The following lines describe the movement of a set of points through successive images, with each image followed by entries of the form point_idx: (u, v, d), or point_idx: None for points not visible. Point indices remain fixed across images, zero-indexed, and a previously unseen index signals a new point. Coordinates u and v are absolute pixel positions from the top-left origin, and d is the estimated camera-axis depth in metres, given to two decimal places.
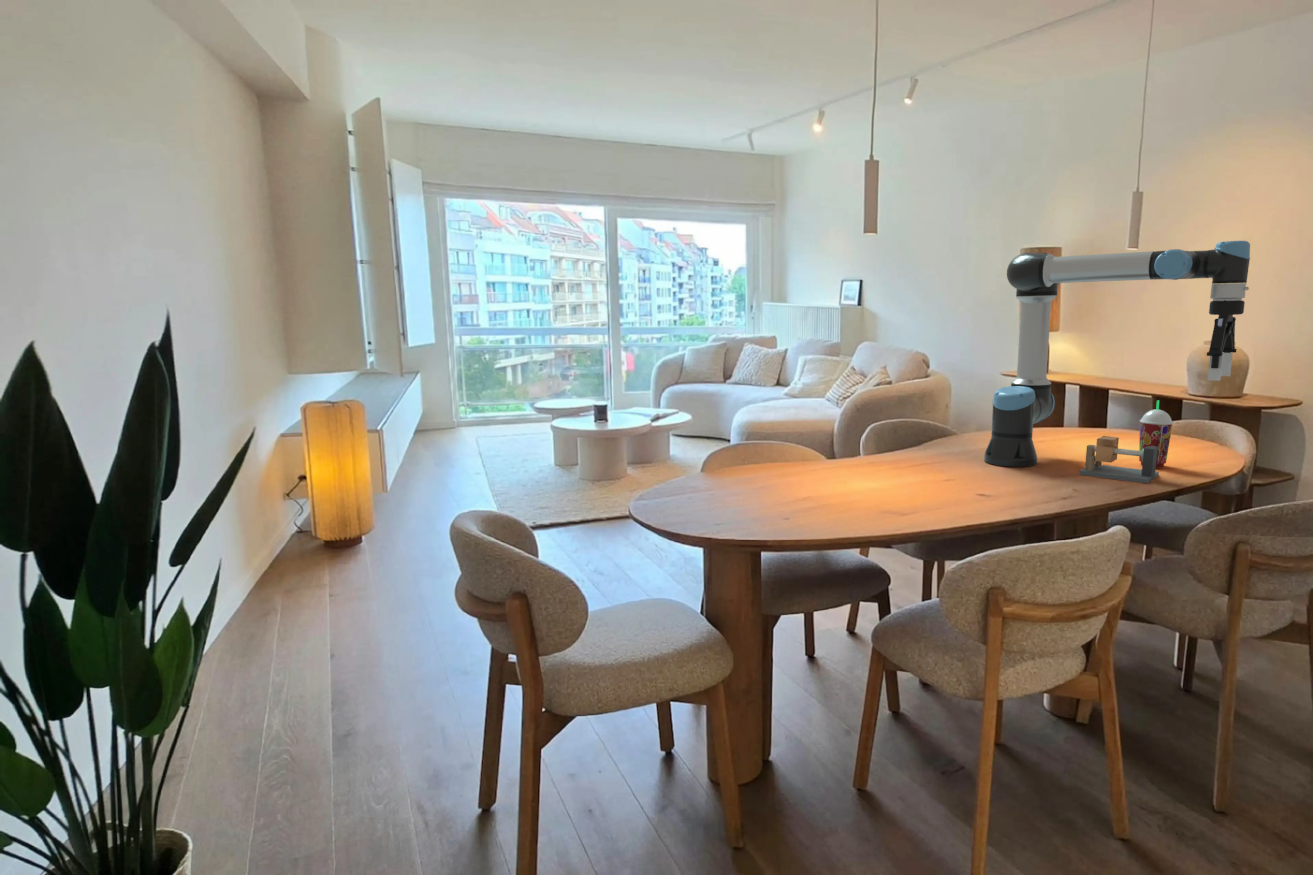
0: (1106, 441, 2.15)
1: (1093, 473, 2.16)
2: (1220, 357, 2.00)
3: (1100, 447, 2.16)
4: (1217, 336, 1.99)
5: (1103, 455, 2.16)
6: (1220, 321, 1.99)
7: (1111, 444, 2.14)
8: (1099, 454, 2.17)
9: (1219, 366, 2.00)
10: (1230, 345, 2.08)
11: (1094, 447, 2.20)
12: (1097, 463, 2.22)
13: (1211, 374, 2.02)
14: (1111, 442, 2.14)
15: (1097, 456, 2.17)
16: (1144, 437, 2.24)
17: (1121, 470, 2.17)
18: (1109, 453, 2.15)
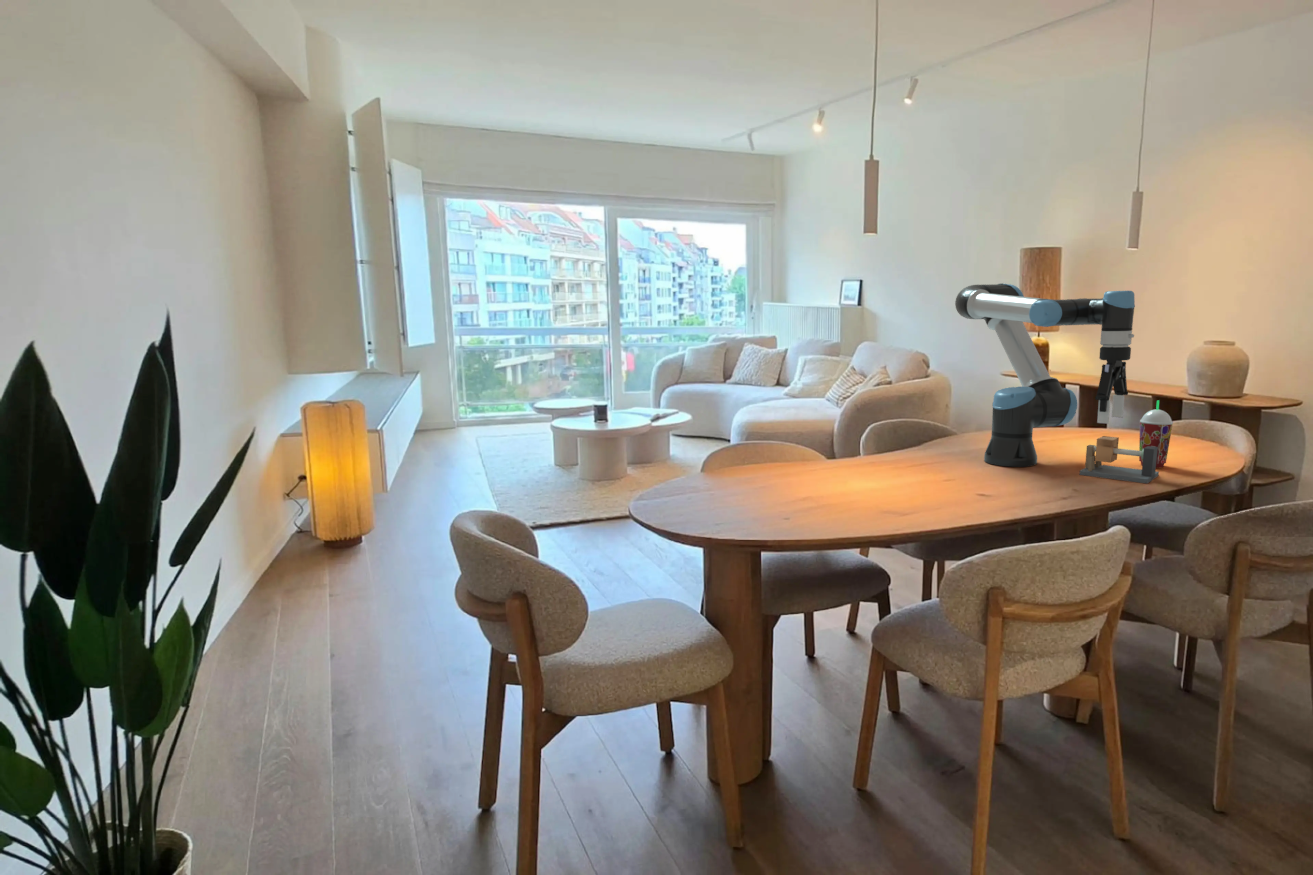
0: (1106, 441, 2.15)
1: (1093, 473, 2.16)
2: (1107, 401, 2.09)
3: (1100, 447, 2.16)
4: (1104, 381, 2.08)
5: (1103, 455, 2.16)
6: (1106, 367, 2.09)
7: (1111, 444, 2.14)
8: (1099, 454, 2.17)
9: (1107, 410, 2.10)
10: (1121, 388, 2.18)
11: (1094, 447, 2.20)
12: (1097, 463, 2.22)
13: (1100, 417, 2.11)
14: (1111, 442, 2.14)
15: (1097, 456, 2.17)
16: (1144, 437, 2.24)
17: (1121, 470, 2.17)
18: (1109, 453, 2.15)
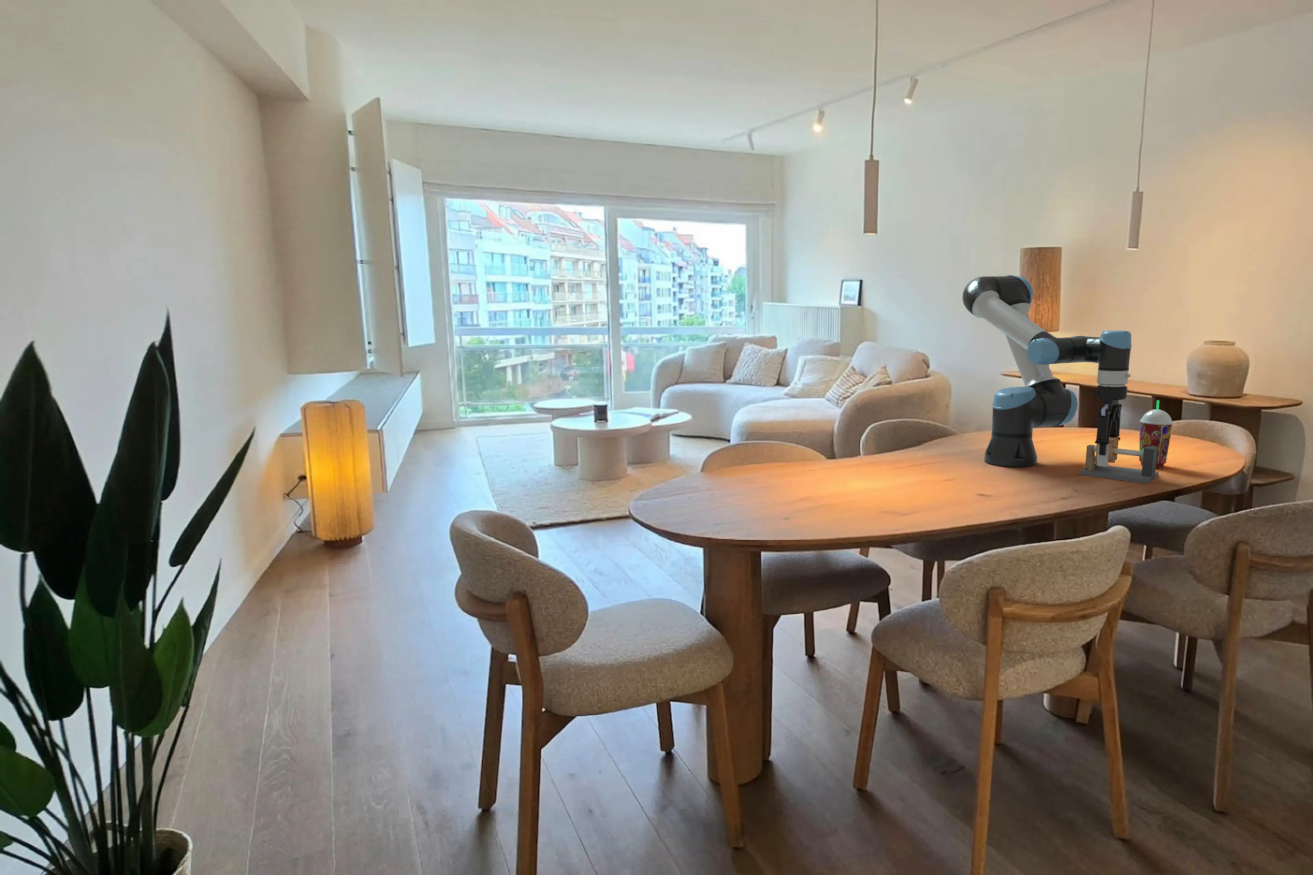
0: None
1: (1093, 473, 2.16)
2: (1107, 445, 2.14)
3: None
4: (1102, 426, 2.12)
5: None
6: (1103, 412, 2.11)
7: (1111, 444, 2.14)
8: None
9: (1106, 453, 2.15)
10: (1114, 431, 2.18)
11: (1094, 447, 2.20)
12: None
13: (1099, 460, 2.16)
14: (1111, 442, 2.14)
15: None
16: (1144, 437, 2.24)
17: (1121, 470, 2.17)
18: (1109, 453, 2.15)
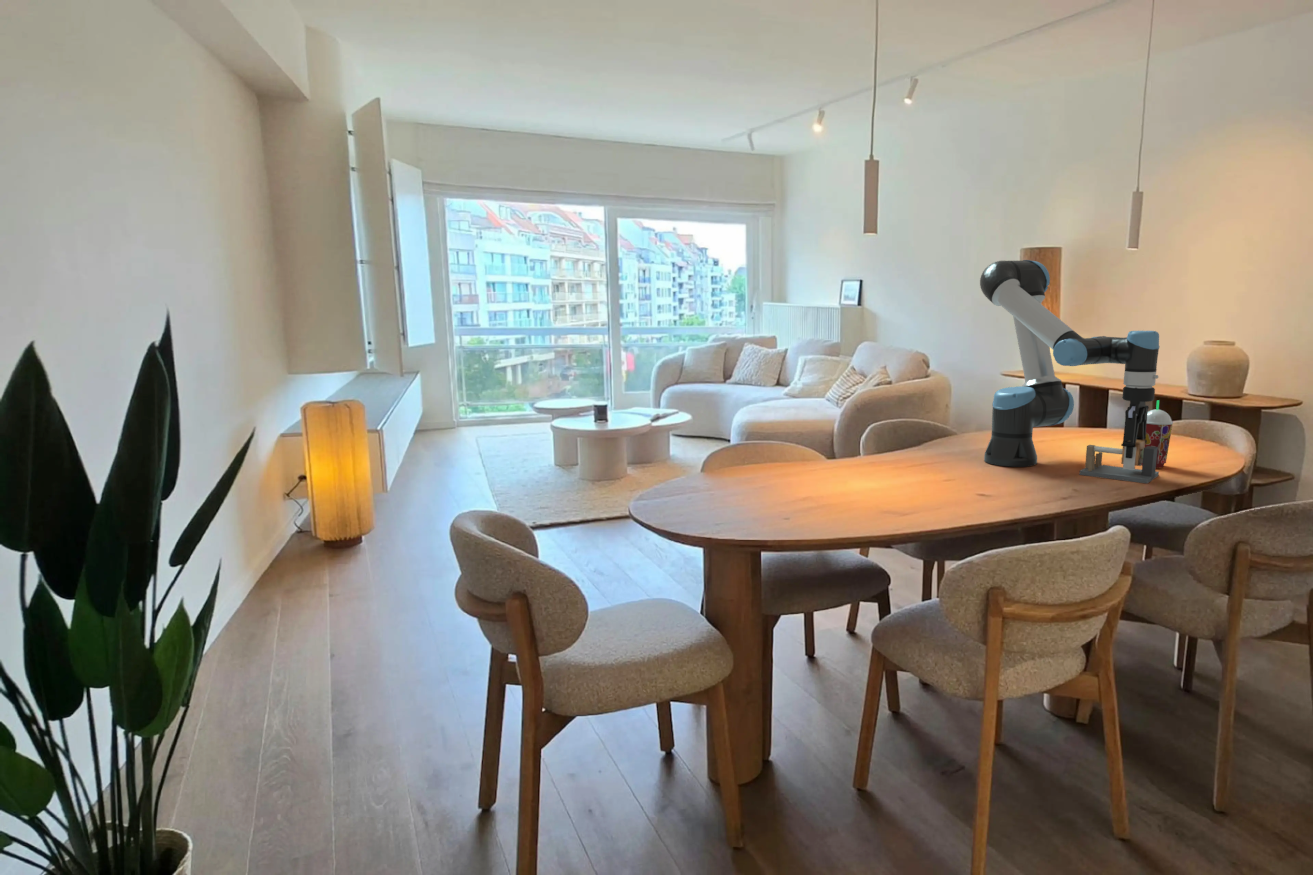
0: None
1: (1093, 473, 2.16)
2: (1134, 448, 2.09)
3: None
4: (1129, 428, 2.07)
5: None
6: (1130, 414, 2.06)
7: (1138, 447, 2.09)
8: None
9: (1133, 456, 2.10)
10: (1141, 433, 2.14)
11: (1094, 447, 2.20)
12: (1097, 463, 2.22)
13: (1126, 463, 2.11)
14: (1138, 445, 2.09)
15: (1123, 459, 2.12)
16: None
17: (1121, 470, 2.17)
18: (1136, 456, 2.10)
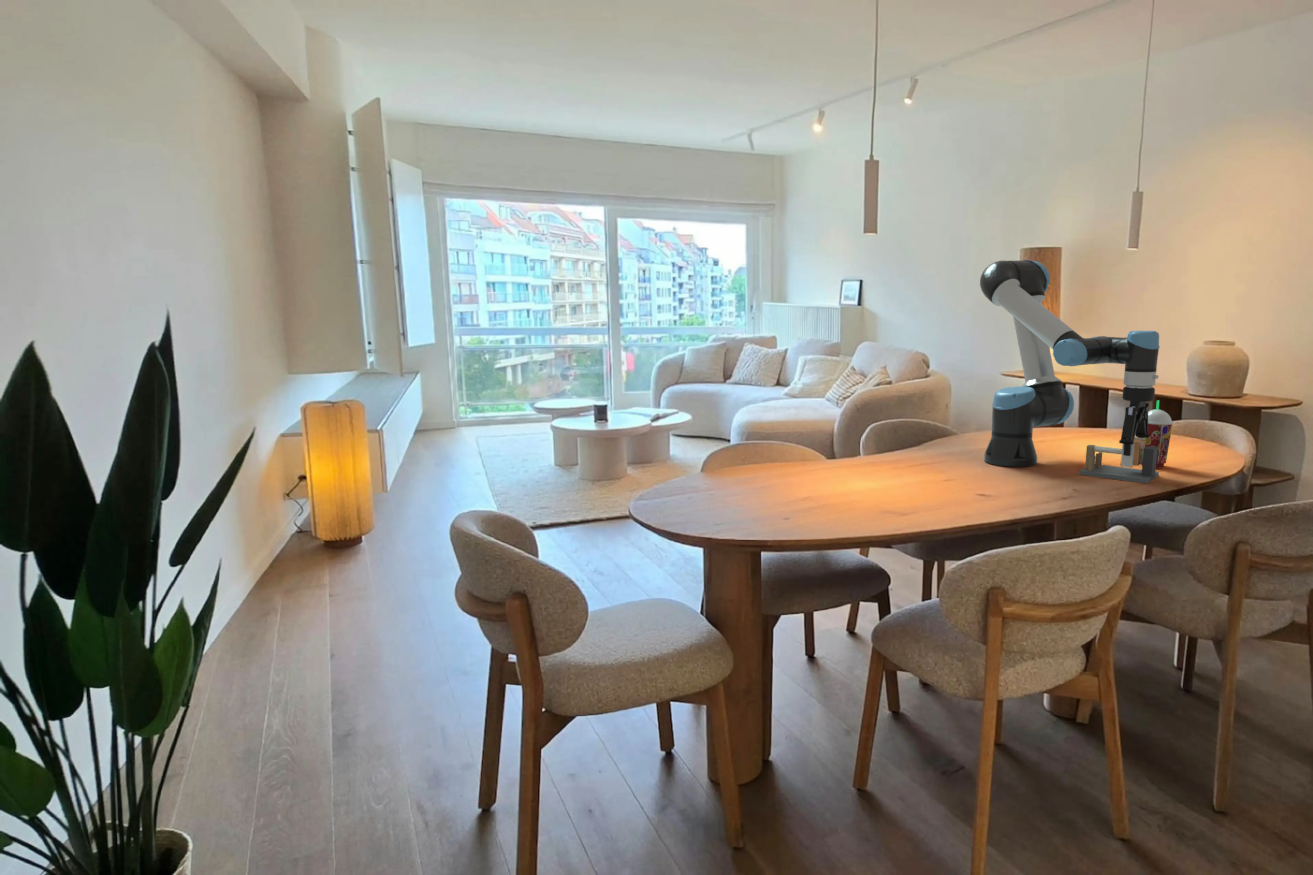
0: None
1: (1093, 473, 2.16)
2: (1132, 445, 2.08)
3: None
4: (1128, 425, 2.06)
5: None
6: (1130, 410, 2.06)
7: (1138, 447, 2.09)
8: None
9: (1131, 453, 2.08)
10: (1143, 430, 2.15)
11: (1094, 447, 2.20)
12: (1097, 463, 2.22)
13: (1124, 460, 2.10)
14: (1138, 445, 2.09)
15: None
16: None
17: (1121, 470, 2.17)
18: (1136, 456, 2.10)
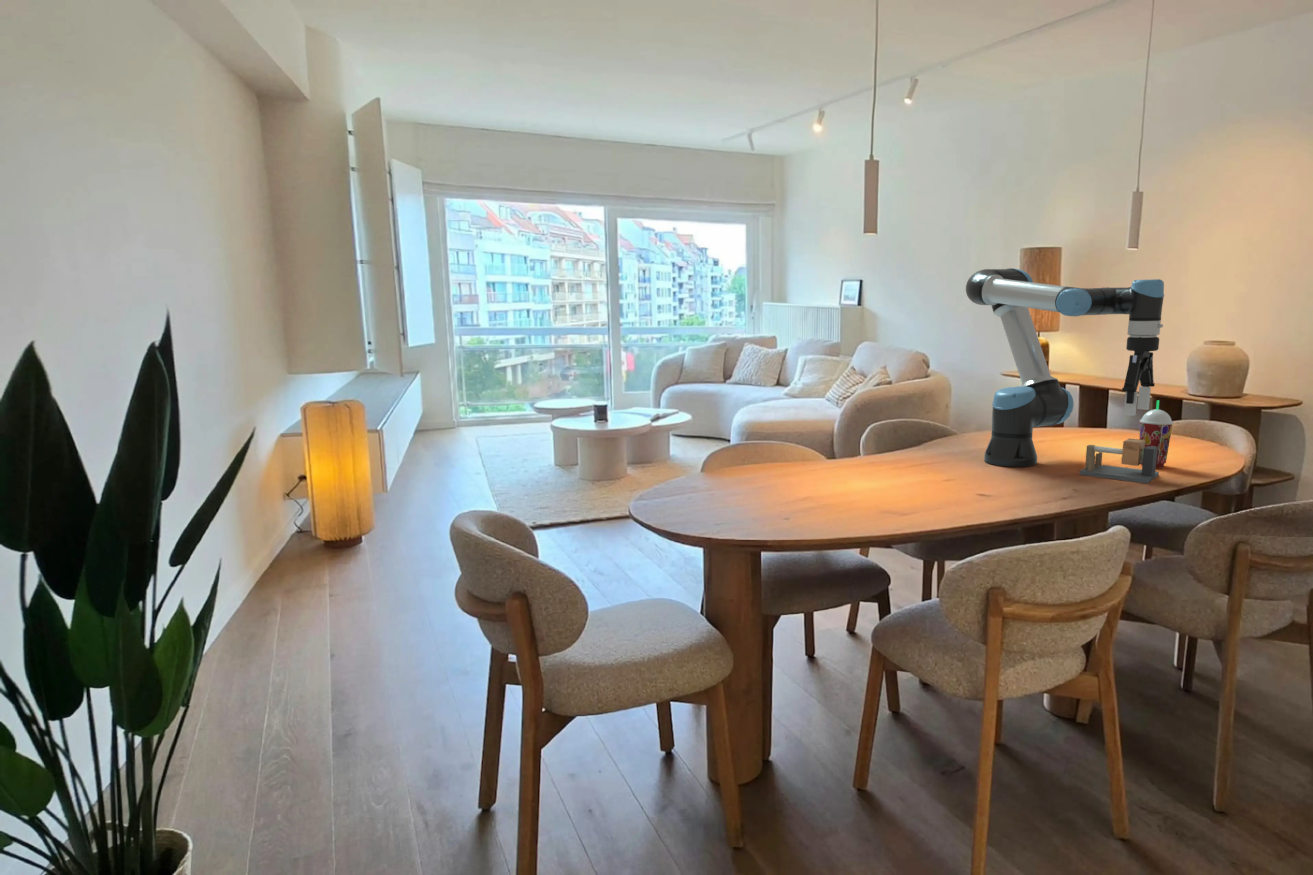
0: (1133, 444, 2.10)
1: (1093, 473, 2.16)
2: (1135, 393, 2.04)
3: (1126, 450, 2.12)
4: (1131, 372, 2.03)
5: (1130, 458, 2.11)
6: (1134, 358, 2.04)
7: (1138, 447, 2.09)
8: (1125, 457, 2.12)
9: (1134, 401, 2.05)
10: (1148, 379, 2.13)
11: (1094, 447, 2.20)
12: (1097, 463, 2.22)
13: (1127, 409, 2.06)
14: (1138, 445, 2.09)
15: (1123, 459, 2.12)
16: (1144, 437, 2.24)
17: (1121, 470, 2.17)
18: (1136, 456, 2.10)
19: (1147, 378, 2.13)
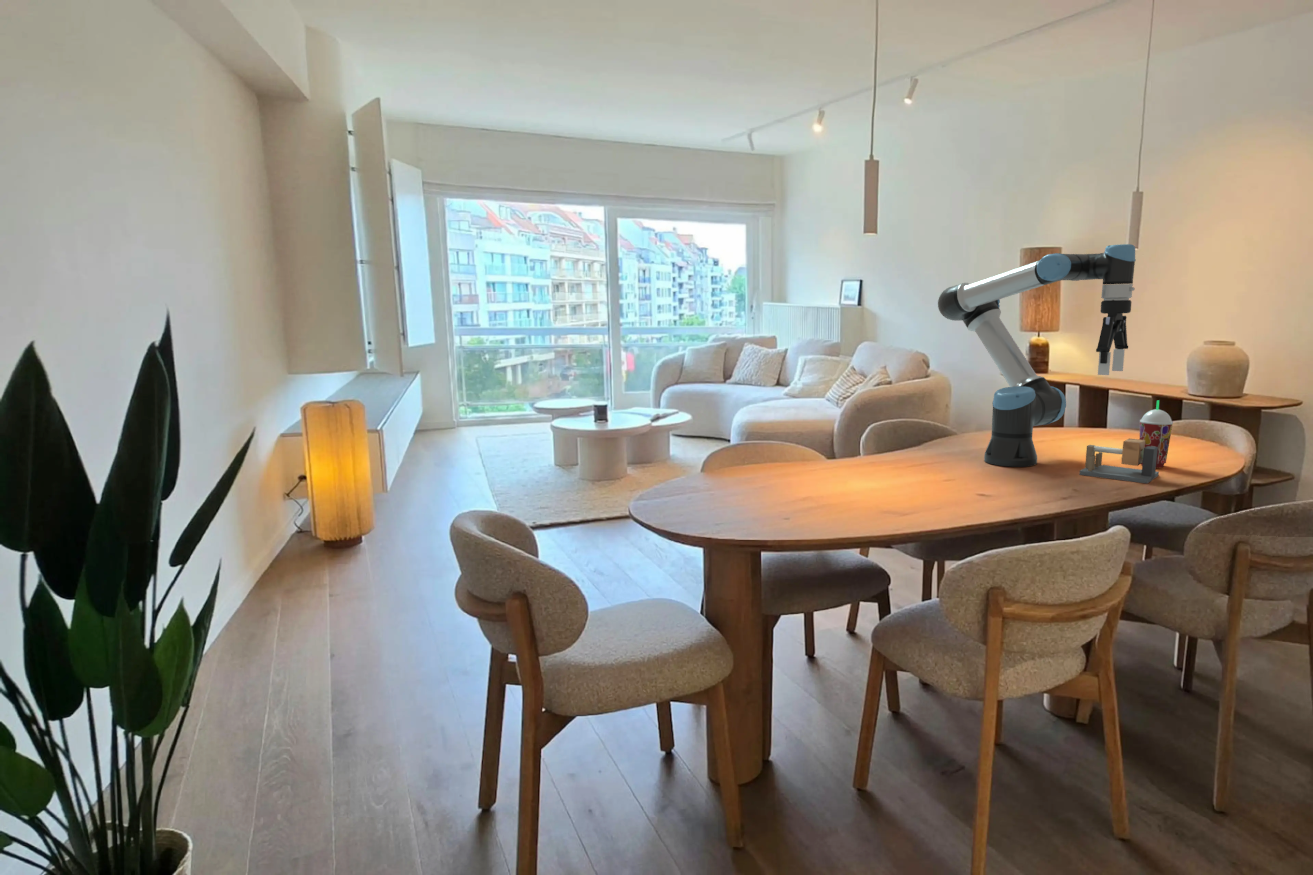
0: (1133, 444, 2.10)
1: (1093, 473, 2.16)
2: (1108, 353, 2.14)
3: (1126, 450, 2.12)
4: (1105, 333, 2.13)
5: (1130, 458, 2.11)
6: (1107, 320, 2.13)
7: (1138, 447, 2.09)
8: (1125, 457, 2.12)
9: (1107, 361, 2.14)
10: (1122, 342, 2.22)
11: (1094, 447, 2.20)
12: (1097, 463, 2.22)
13: (1101, 369, 2.16)
14: (1138, 445, 2.09)
15: (1123, 459, 2.12)
16: (1144, 437, 2.24)
17: (1121, 470, 2.17)
18: (1136, 456, 2.10)
19: (1121, 340, 2.22)
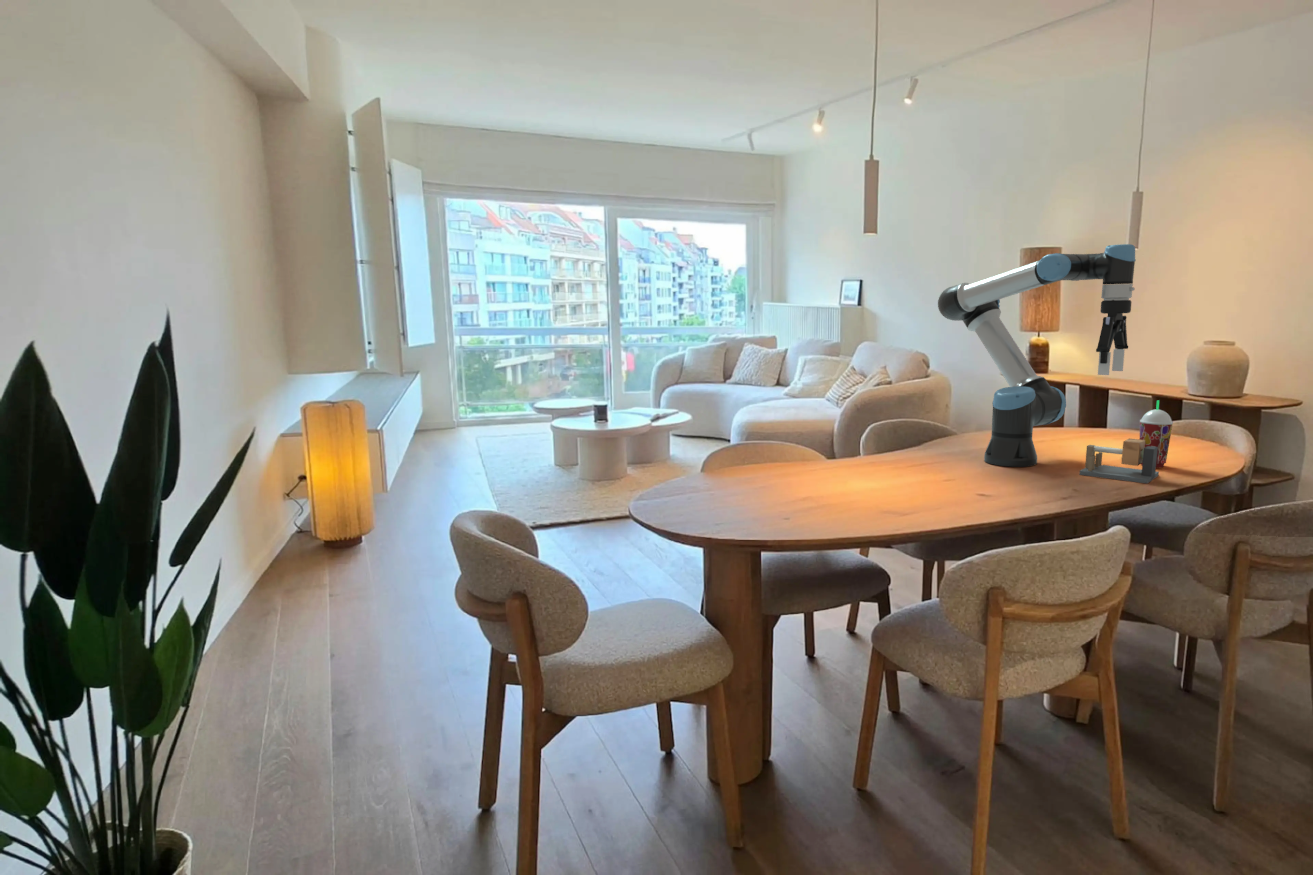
0: (1133, 444, 2.10)
1: (1093, 473, 2.16)
2: (1108, 353, 2.14)
3: (1126, 450, 2.12)
4: (1105, 333, 2.13)
5: (1130, 458, 2.11)
6: (1107, 320, 2.13)
7: (1138, 447, 2.09)
8: (1125, 457, 2.12)
9: (1107, 361, 2.14)
10: (1122, 342, 2.22)
11: (1094, 447, 2.20)
12: (1097, 463, 2.22)
13: (1101, 369, 2.16)
14: (1138, 445, 2.09)
15: (1123, 459, 2.12)
16: (1144, 437, 2.24)
17: (1121, 470, 2.17)
18: (1136, 456, 2.10)
19: (1121, 340, 2.22)
